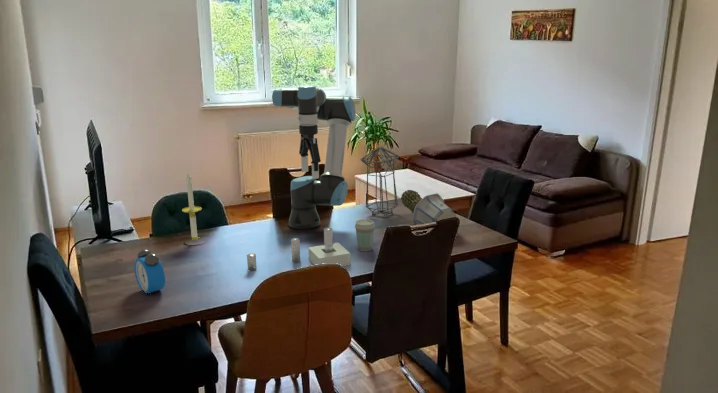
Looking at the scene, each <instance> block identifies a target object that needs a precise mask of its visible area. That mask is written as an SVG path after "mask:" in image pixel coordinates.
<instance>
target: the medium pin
mask: <svg viewBox="0 0 718 393" xmlns="http://www.w3.org/2000/svg"><path fill="white" fill-rule="evenodd" d="M300 242H301V241H300V238H298V237H294V238H291V239H290V244H291V245H290V246H291V263H293V264H300V263H301V248H300V247H301V244H300Z"/></svg>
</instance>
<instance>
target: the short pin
mask: <svg viewBox="0 0 718 393" xmlns="http://www.w3.org/2000/svg"><path fill="white" fill-rule="evenodd" d="M246 261H247V262H246V263H247V271H248V270H249V272H254V270H255V271H257V270H256V269H258V266H257V255H256V253H248V254H246Z"/></svg>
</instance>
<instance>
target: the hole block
mask: <svg viewBox="0 0 718 393" xmlns="http://www.w3.org/2000/svg"><path fill="white" fill-rule="evenodd" d="M308 260H309V261H310V262H311V263H312V264H313V265H314V264H322V263H338V264H341V265H343V266H342V267H346V266H347V267H348V266H350V265H351V252H350V251H349V250H348V249H346V248H345V247H344V246H343V245H341V244H340V243H339V242H335V243H334V242H333V252H330V253H325V247H324V244H321V245H316V246H310V247H308Z"/></svg>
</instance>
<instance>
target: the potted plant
mask: <svg viewBox="0 0 718 393" xmlns="http://www.w3.org/2000/svg"><path fill="white" fill-rule="evenodd" d="M400 200H401V203H402V204H403V207H406V208H407V209H408V210H410V212H411V213H412V223H413V224H414V226H416V224H424V223H431V222H435V221H437V220H440V219H445V218H450V217H456V218H457V215H456V213H455V212H454V210H453V209H452V208H451V207H449V206H448V205H447V204H445V200H444V198H442V196H441V195H440V194H439V193H432V194H428V195H425V196H424V197H421V195H420V194H419V192H418V191H415V190H412V189H407V190H404V191H403V192H402V194H401V197H400Z"/></svg>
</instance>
